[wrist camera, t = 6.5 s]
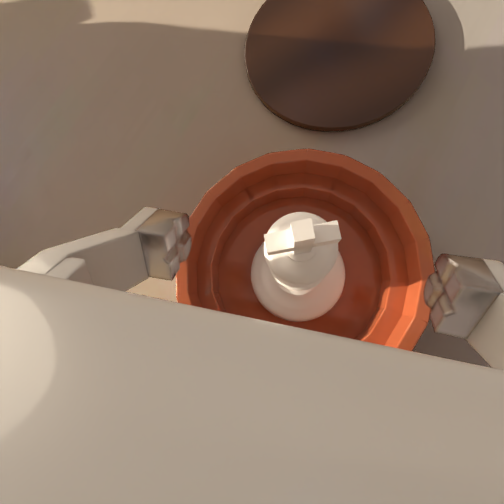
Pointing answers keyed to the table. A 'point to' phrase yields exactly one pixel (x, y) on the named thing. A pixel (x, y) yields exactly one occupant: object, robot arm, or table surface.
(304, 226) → the chess piece
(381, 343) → the dish
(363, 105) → the coaster
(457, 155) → the table surface
